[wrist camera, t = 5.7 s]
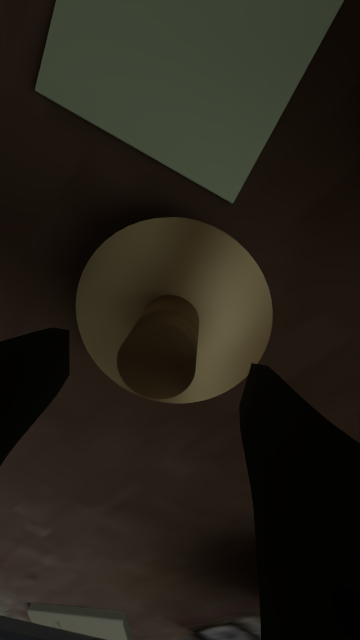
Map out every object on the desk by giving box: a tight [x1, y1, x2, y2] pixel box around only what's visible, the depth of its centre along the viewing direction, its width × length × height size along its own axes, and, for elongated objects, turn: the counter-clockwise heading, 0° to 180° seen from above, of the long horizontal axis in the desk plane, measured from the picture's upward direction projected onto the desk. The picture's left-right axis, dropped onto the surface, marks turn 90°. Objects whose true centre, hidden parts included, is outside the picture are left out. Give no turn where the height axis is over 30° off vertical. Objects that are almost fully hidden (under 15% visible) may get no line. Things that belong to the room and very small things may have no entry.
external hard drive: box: [28, 602, 133, 640], centre depth 35 cm, size 2×8×12 cm
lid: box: [76, 217, 273, 403], centre depth 13 cm, size 10×10×6 cm
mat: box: [35, 0, 344, 204], centre depth 13 cm, size 12×12×1 cm
